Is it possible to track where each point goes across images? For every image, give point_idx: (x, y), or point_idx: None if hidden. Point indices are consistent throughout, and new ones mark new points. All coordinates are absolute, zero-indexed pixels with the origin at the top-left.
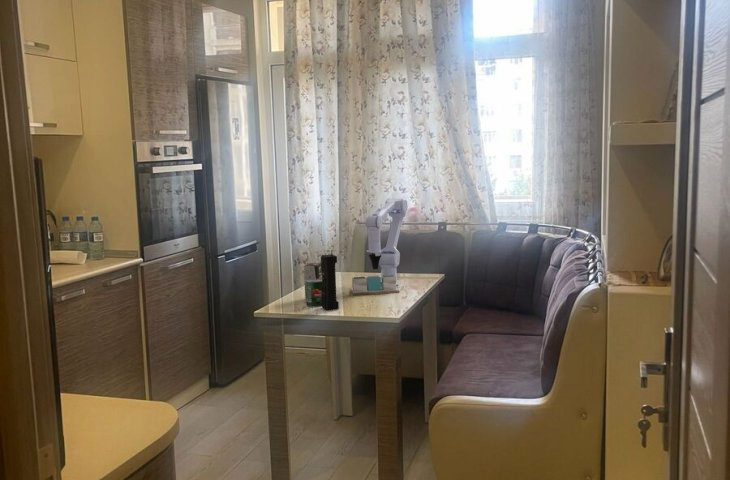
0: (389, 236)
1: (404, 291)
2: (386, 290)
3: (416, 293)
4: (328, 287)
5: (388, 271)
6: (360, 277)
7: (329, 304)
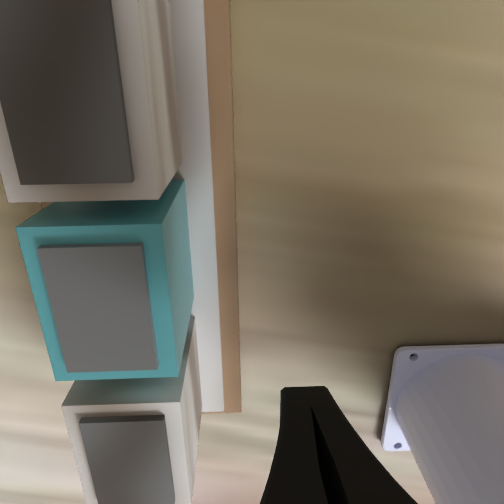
0: None
1: None
2: None
3: (37, 487)
4: None
5: (454, 495)
6: (51, 116)
7: None
